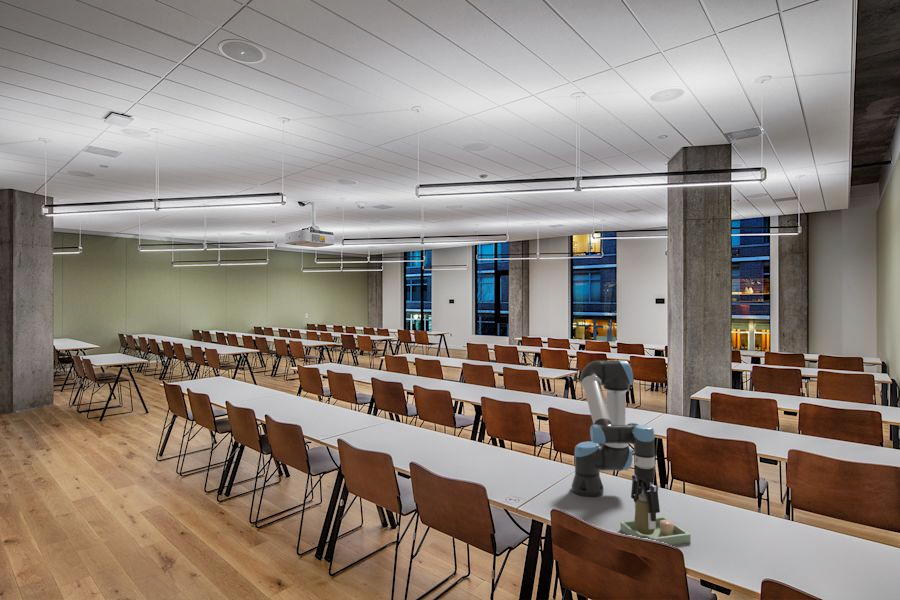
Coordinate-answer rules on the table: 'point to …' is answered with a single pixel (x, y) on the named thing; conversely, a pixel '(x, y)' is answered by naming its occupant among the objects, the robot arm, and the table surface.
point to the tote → (657, 532)
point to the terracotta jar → (666, 528)
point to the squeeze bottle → (642, 515)
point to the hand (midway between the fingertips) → (645, 523)
